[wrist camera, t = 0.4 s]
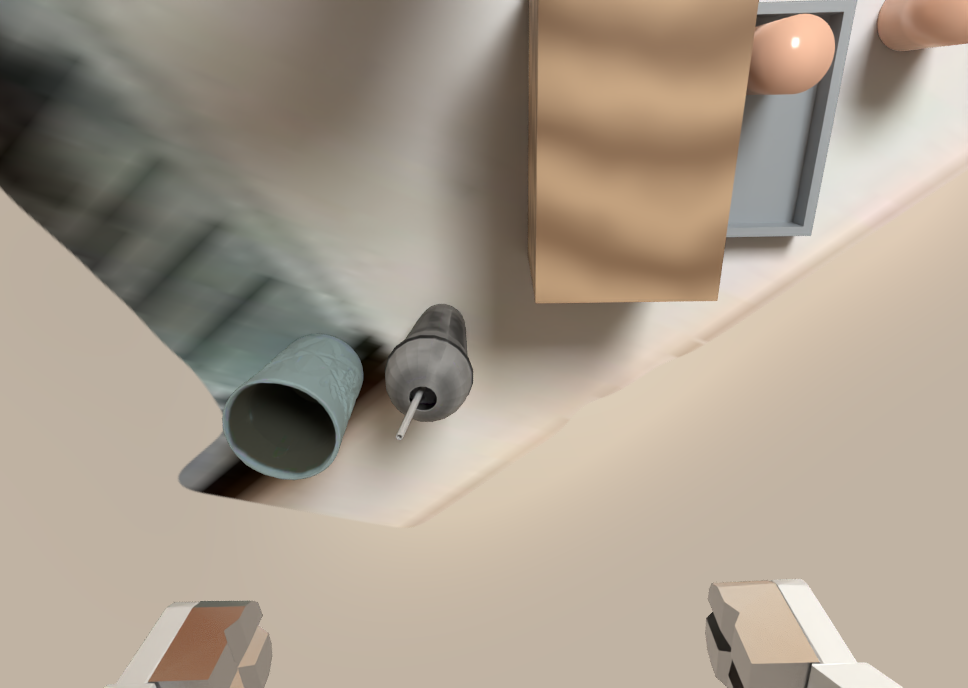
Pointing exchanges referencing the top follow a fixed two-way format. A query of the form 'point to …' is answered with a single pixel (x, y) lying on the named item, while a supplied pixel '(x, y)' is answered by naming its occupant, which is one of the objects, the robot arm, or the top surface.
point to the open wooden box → (633, 145)
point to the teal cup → (295, 408)
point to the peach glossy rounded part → (790, 55)
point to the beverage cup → (430, 368)
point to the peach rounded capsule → (923, 23)
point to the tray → (788, 137)
